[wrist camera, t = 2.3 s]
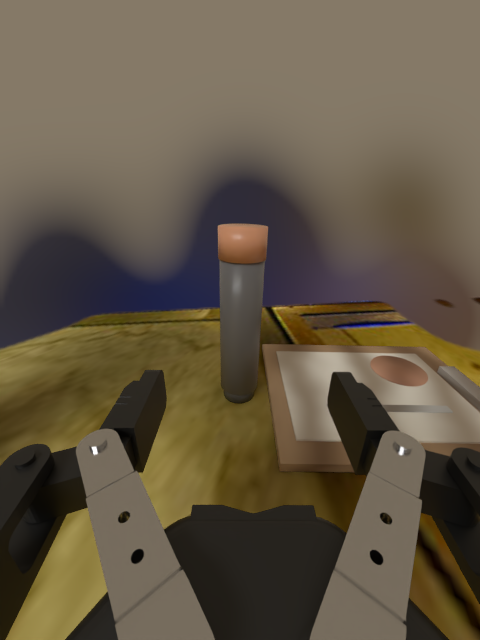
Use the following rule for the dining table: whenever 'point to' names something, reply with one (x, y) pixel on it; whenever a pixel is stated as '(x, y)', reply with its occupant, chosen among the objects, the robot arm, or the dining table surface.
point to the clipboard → (388, 386)
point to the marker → (240, 306)
